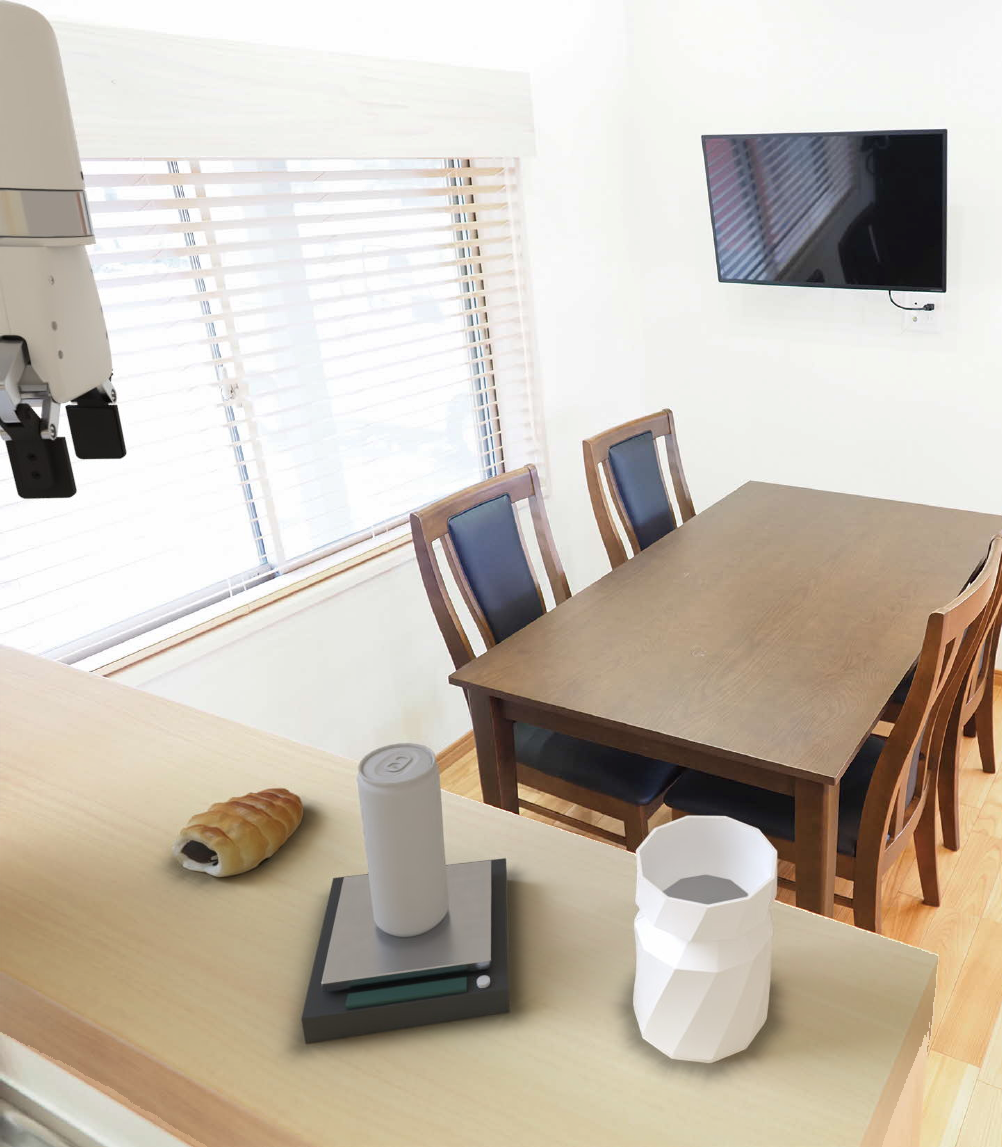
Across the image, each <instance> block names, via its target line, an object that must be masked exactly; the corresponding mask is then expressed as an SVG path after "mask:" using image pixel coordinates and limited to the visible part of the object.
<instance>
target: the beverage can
mask: <svg viewBox="0 0 1002 1147" xmlns="http://www.w3.org/2000/svg"><path fill="white" fill-rule="evenodd" d="M436 758H437V757H436V754H435V752H434V751H433V750H432V749H431V748H429V747H428V746H426V745H422V744H419V743H414V742H413V743H412V742H401V743H400V742H399V743H393V744H387V745H384V746H382V747H379V748H376V749H374V750H372V751H370V752H369V753H367V754H366V755H364V757H363V758H361V760H360V762H359V764H358V767H357V769H358V774H357V775H356V776H357V777H356V781H357V790H358V791H357V792H358V798H359V806H360V814H361V822H362V824H361V825H362V831H363V840H364V848H365V855H366V856H365V857H366V865H367V872H368V873H367V874H369V882H370V890H371V898H372V907H373V915H374V921H375V923H376V924H377V926H378V927H379V928H380V929H382V930H383V931H384V932H386V933H388V934H391V935H394V936H399V937H411V936H416V935H420V934H422V933H425V932H427V931H429V930H431V929H432V928H434V927H435V926H436V925H437V924H438V923H439V922H440V921H441V920H442V919H443V918H444V917H445V915H446V913H447V911H448V906H449V897H448V885H447V873H446V865H447V862H446V851H445V839H444V838H445V837H444V821H443V806H442V805H443V804H442V803H443V802H442V791H441V788H442V787H441V778H440V768H439V763H438V761H437V759H436Z"/></svg>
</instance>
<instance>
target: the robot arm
mask: <svg viewBox="0 0 1002 1147" xmlns="http://www.w3.org/2000/svg"><path fill="white" fill-rule="evenodd" d="M70 104H71V103H70V100H69V93H68V88H67V83H66V78H65V73H64V67H63V62H62V57H61V51H60V47H59V44H58V39H57V34H56V32H55V30H54V28H53V26H52V24H51V23H50V21H49V20H48V19H47V18H46V17H45V16H44V15H43V13H40V11H38V10H37V9H35V8H32V7H30V6H27V5H25V4H22V3H18V2H15V1H10V0H0V438H1V440H3V441H4V442H5V447H6V452H7V456H8V459H9V463H10V467H11V471H12V475H13V480H14V484H15V488H16V491H17V495H18V497H20V498H21V499H24V500H31V499H32V500H34V499H35V500H38V499H42V500H43V499H70V498H72V497H73V496H75V495H76V494H77V492H78V490H77V485H76V479H75V476H74V471H73V466H72V461H71V456H70V453H69V447H68V443H67V439H66V436H58V434H59V423H60V414H61V404H66V403H67V405H65V412H66V418H67V422H68V427H69V430H70V436H71V441H72V445H73V449H74V453H75V456H76V458H77V459H78V460H121V459H124V458H125V457H126V455H127V447H126V443H125V437H124V431H123V427H122V422H121V417H120V416H121V415H120V411H119V407H118V404H117V402H118V394H117V391H116V389H115V387H114V385H113V383H112V378H113V377H112V376H114V373H113V371H114V368H113V358H112V352H111V345H110V339H109V335H108V329H107V324H106V320H105V316H104V311H103V307H102V302H101V299H100V298H101V297H100V295H99V291H98V290H99V289H98V287H97V286H98V285H97V283H96V279H95V276H94V272H93V268H92V264H91V262H90V258H89V254H88V252H87V248H86V246H90V245H95V244H97V240H96V236H95V231H94V225H93V220H92V215H91V210H90V204H89V198H88V195H87V191H86V185H85V177H84V173H83V168H82V164H81V158H80V152H79V151H80V150H79V146H78V142H77V136H76V131H75V125H74V120H73V115H72V109H71V105H70ZM69 402H70V403H71V404H68V403H69ZM33 408H41V413H40V415H39V414H38V413H37V412H36V411H35V410H34V409H33Z"/></svg>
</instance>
